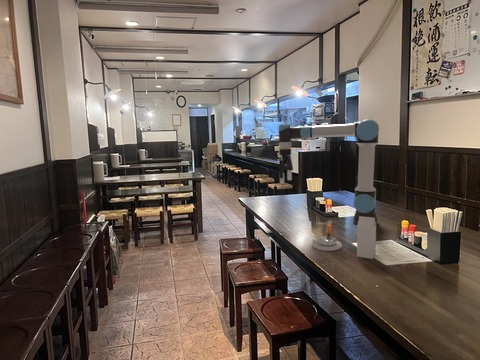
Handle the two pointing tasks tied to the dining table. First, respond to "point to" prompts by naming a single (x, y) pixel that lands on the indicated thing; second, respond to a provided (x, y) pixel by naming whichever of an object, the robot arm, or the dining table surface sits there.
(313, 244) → the plate
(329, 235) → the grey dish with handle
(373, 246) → the milk carton
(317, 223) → the dining table surface
